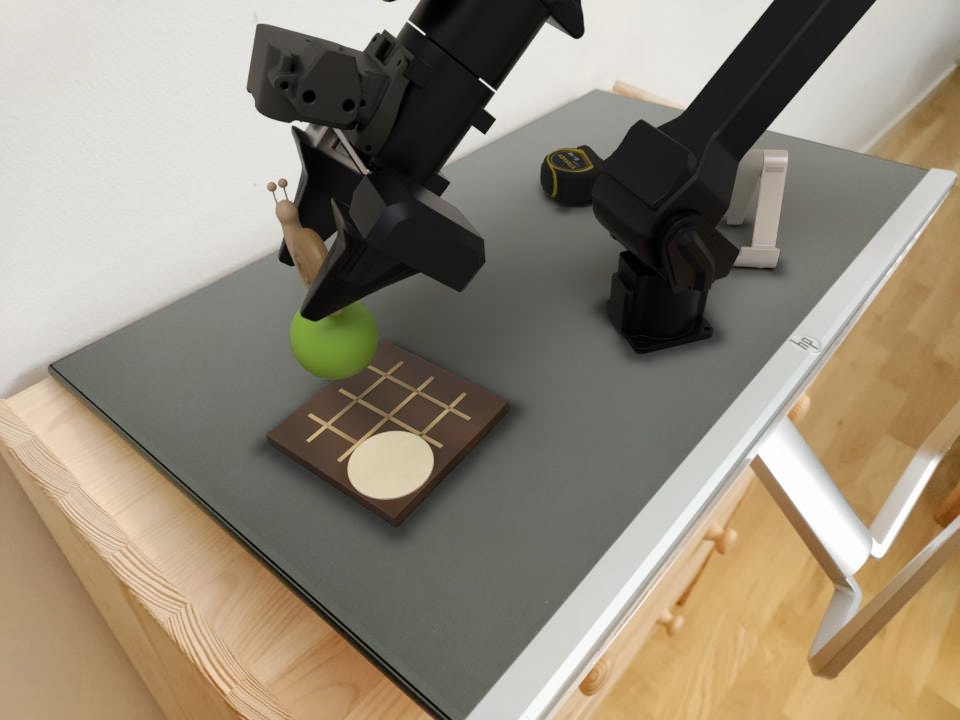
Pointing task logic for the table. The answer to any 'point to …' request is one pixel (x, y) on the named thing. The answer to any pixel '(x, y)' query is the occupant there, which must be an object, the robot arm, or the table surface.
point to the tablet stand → (759, 204)
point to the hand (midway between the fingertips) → (295, 288)
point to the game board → (389, 422)
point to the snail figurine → (338, 337)
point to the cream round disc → (390, 465)
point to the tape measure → (570, 173)
